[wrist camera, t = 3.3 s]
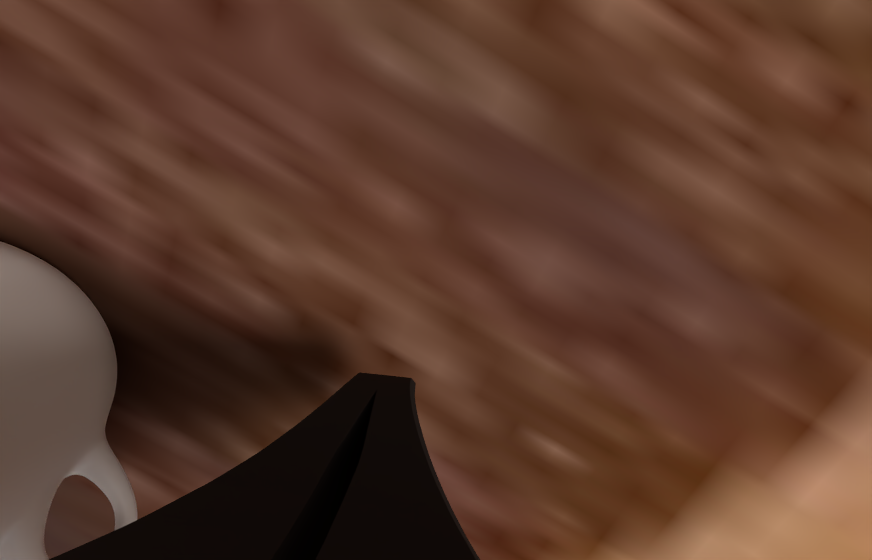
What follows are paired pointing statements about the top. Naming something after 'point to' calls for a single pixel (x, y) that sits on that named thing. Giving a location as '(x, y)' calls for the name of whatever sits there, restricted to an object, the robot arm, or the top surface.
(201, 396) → the top surface
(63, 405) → the teacup
